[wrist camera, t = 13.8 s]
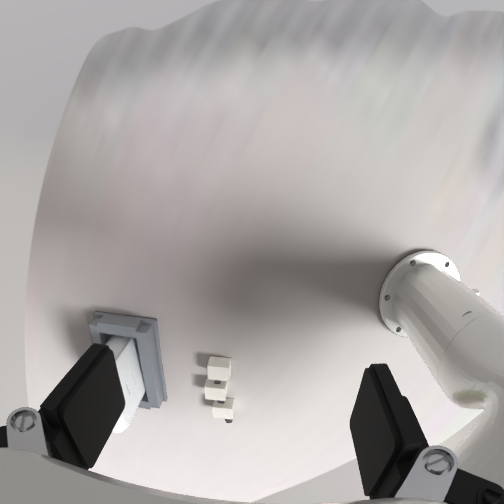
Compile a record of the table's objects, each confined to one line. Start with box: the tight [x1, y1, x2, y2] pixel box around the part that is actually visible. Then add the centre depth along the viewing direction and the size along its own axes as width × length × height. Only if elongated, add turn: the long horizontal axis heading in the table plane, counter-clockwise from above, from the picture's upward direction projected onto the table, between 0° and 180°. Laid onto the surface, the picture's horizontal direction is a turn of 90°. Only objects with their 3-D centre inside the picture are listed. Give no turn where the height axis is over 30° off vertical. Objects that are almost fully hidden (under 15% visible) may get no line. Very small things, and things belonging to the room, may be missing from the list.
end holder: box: [89, 311, 167, 409], centre depth 43 cm, size 10×15×3 cm, turn 178°
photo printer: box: [106, 335, 146, 433], centre depth 38 cm, size 10×4×12 cm, turn 4°
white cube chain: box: [204, 356, 234, 423], centre depth 44 cm, size 4×13×2 cm, turn 178°
